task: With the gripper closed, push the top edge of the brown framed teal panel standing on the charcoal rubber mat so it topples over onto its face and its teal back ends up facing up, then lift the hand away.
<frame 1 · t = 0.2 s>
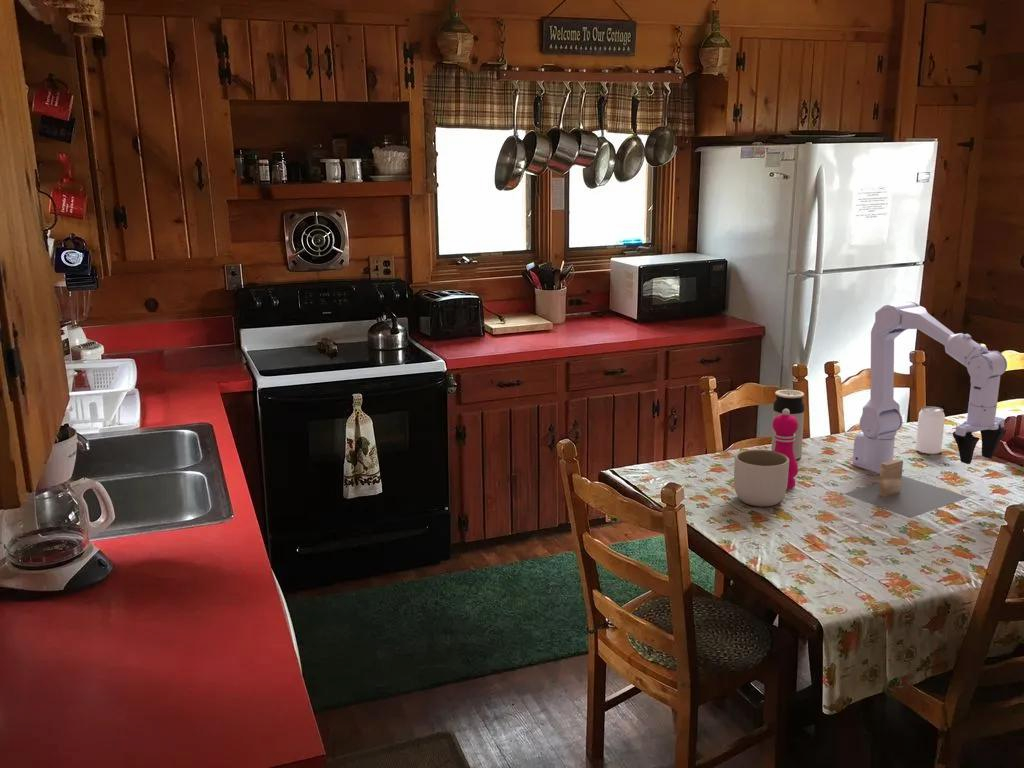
hand: (976, 460, 207), 10 cm above the table, tool pointing down, fingers open, 7 cm apart
pepper mill: (781, 486, 221), on the table
planter: (759, 501, 212), on the table
can: (928, 451, 244), on the table
travel mug: (786, 456, 243), on the table
rubber mat: (905, 497, 212), on the table
brown framed teal panel: (889, 493, 213), resting on rubber mat
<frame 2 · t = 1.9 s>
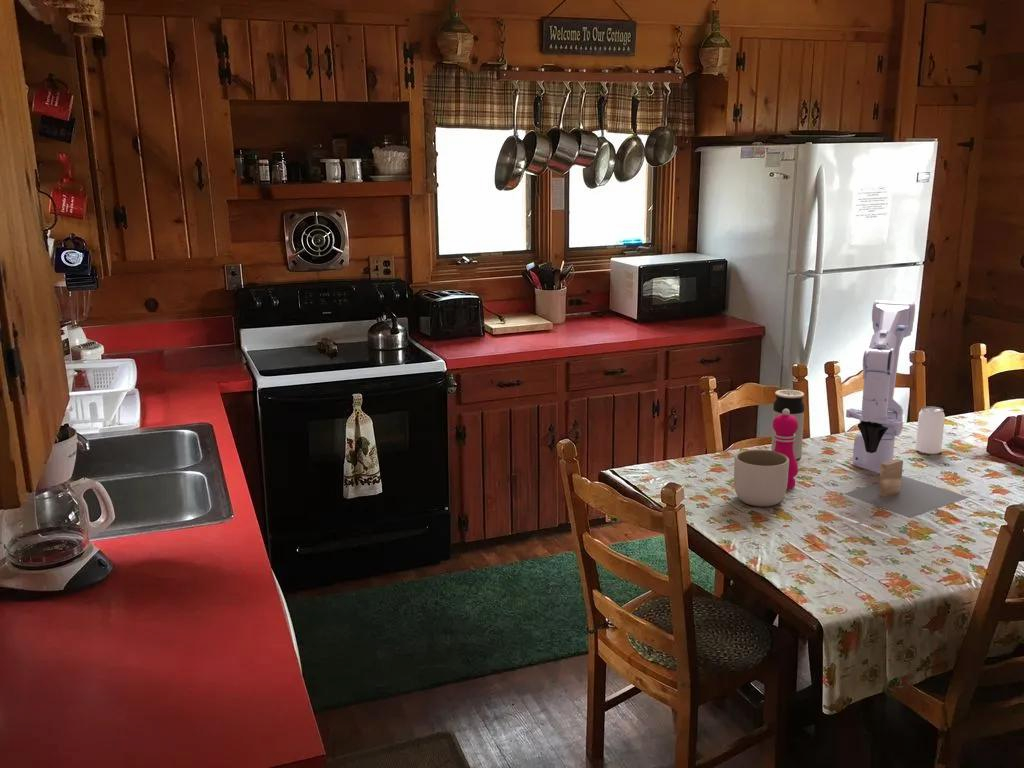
hand: (871, 451, 216), 9 cm above the table, tool pointing down, fingers closed
nothing on the table moved.
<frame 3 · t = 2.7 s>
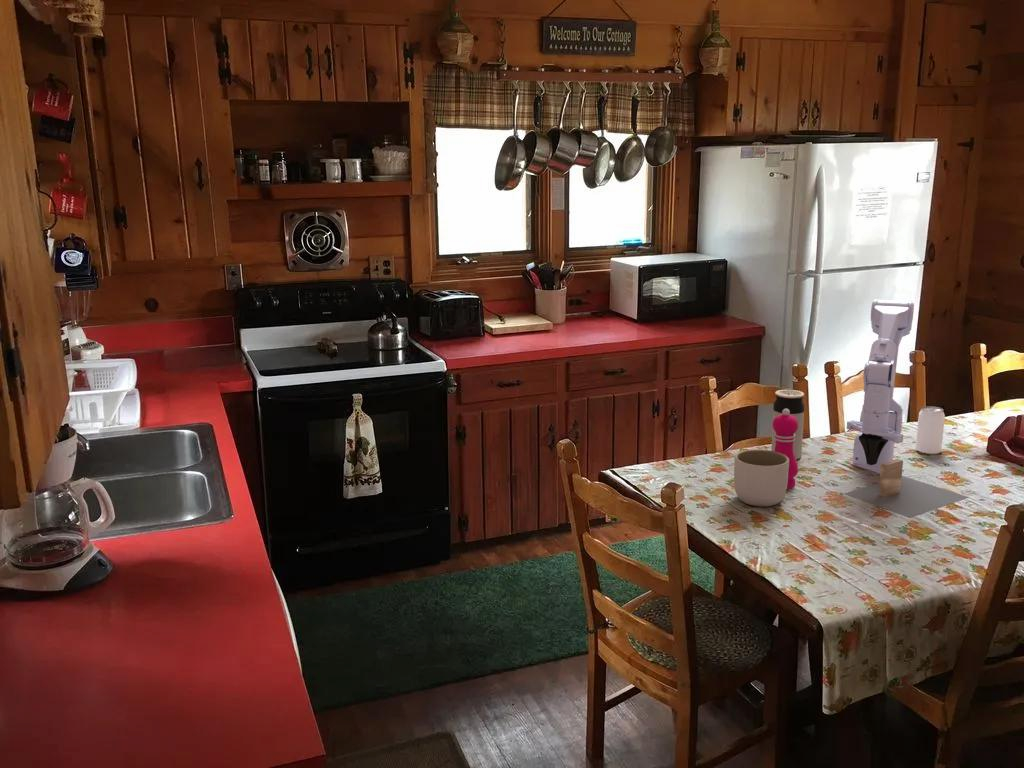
hand: (871, 463, 216), 6 cm above the table, tool pointing down, fingers closed
nothing on the table moved.
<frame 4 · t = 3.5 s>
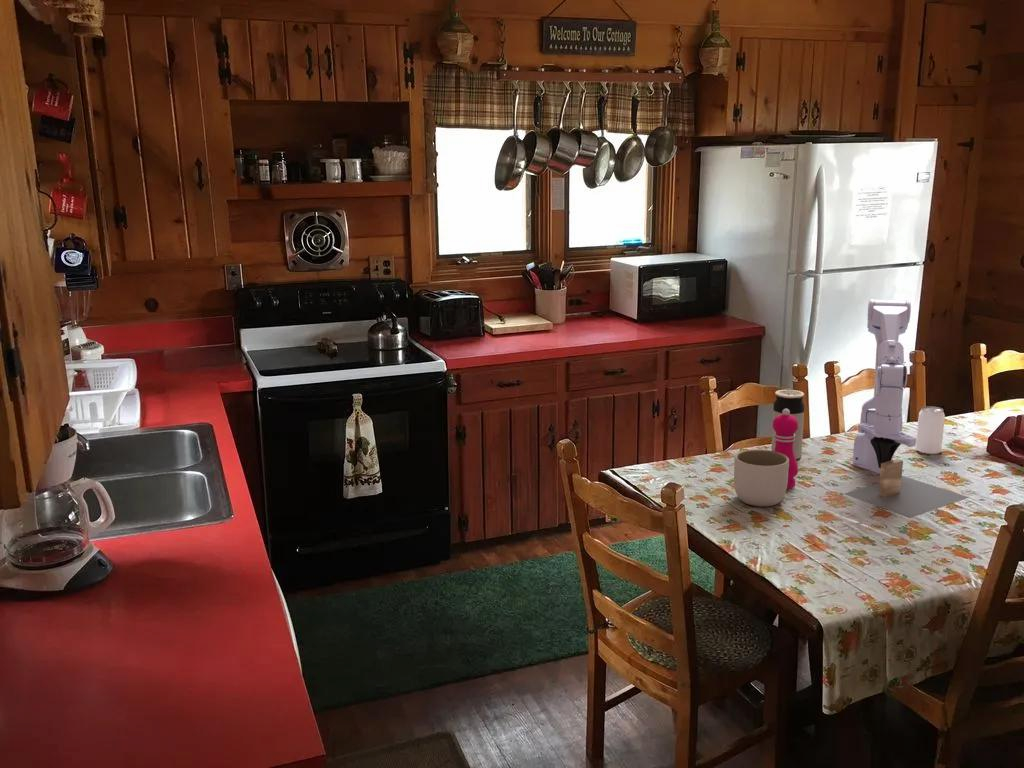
hand: (883, 467, 214), 6 cm above the table, tool pointing down, fingers closed
brown framed teal panel: (889, 493, 213), resting on rubber mat, touching gripper
everything else where it was.
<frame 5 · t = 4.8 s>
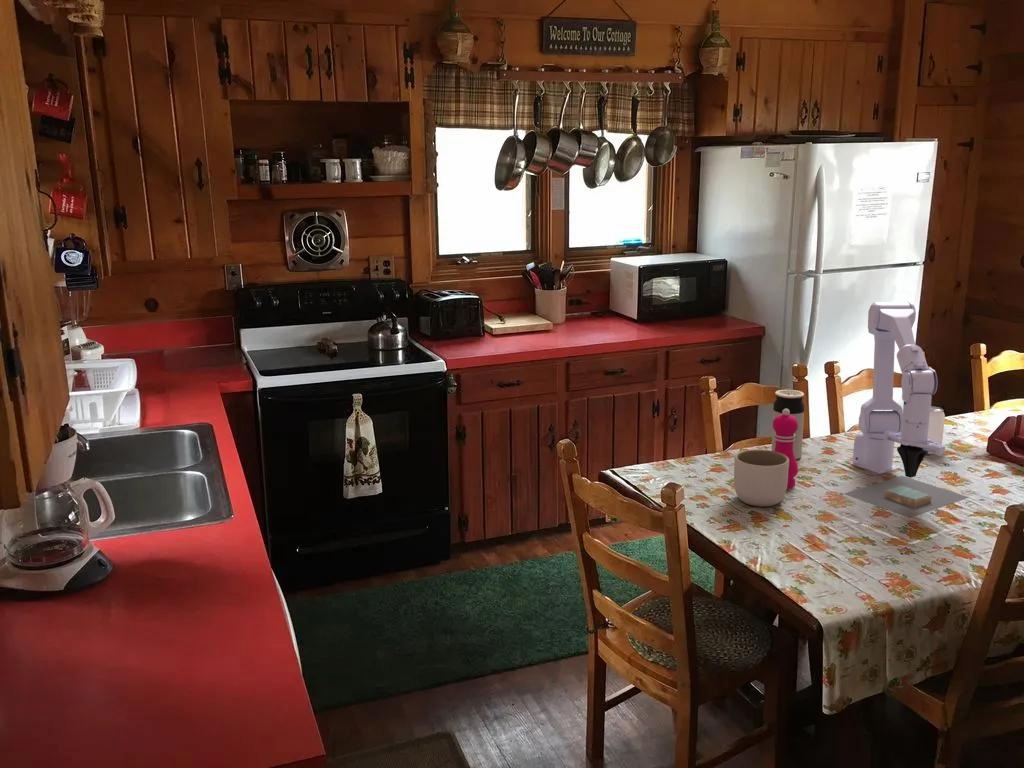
hand: (910, 476, 207), 6 cm above the table, tool pointing down, fingers closed
brown framed teal panel: (893, 491, 212), point 1 cm above the table, tilted 90°, touching rubber mat
everything else where it was.
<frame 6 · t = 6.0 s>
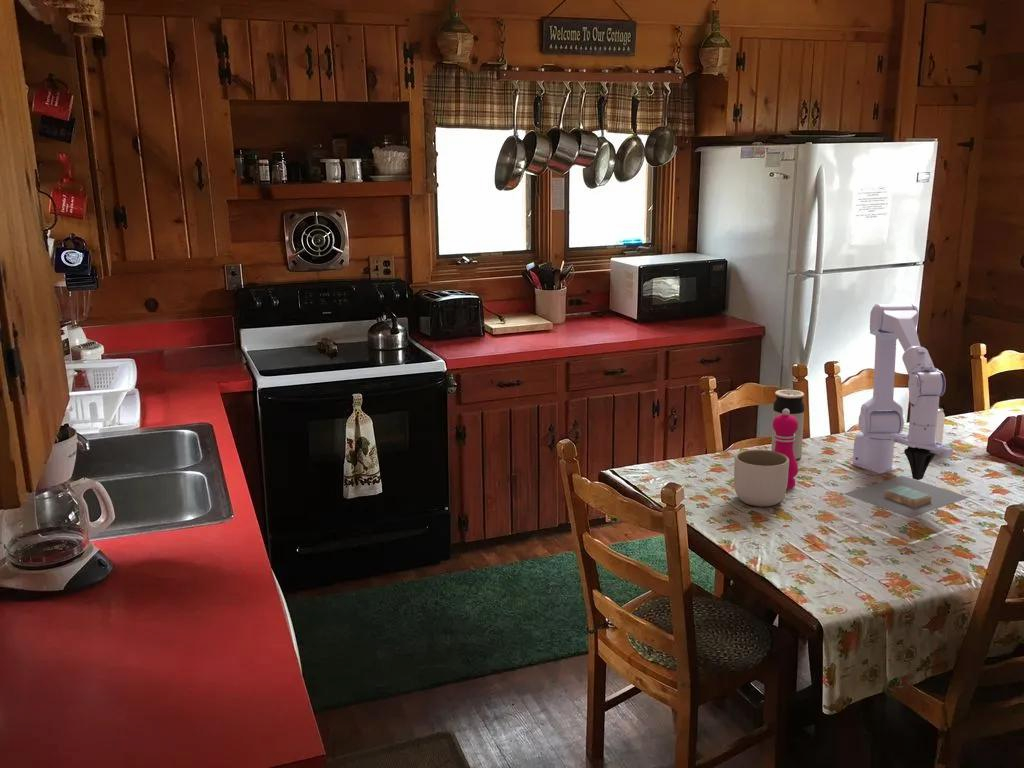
hand: (917, 478, 206), 6 cm above the table, tool pointing down, fingers closed
nothing on the table moved.
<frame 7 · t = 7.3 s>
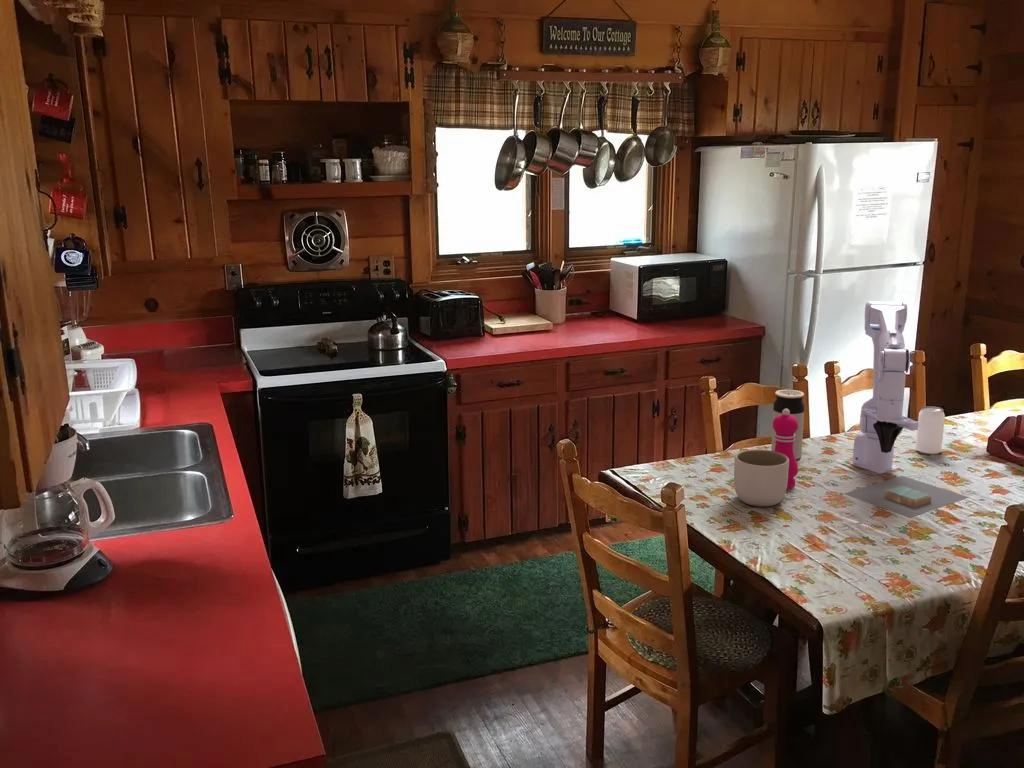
hand: (886, 451, 216), 9 cm above the table, tool pointing down, fingers closed
nothing on the table moved.
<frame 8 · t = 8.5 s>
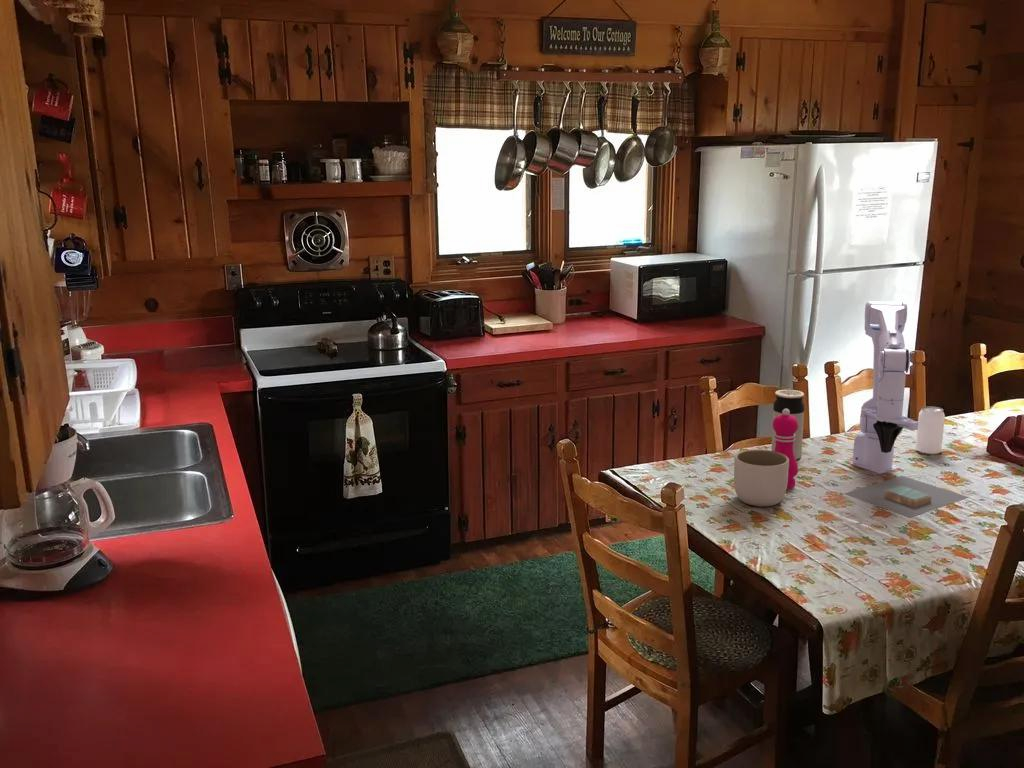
hand: (886, 451, 216), 9 cm above the table, tool pointing down, fingers closed
nothing on the table moved.
at the end: brown framed teal panel tilted 90°; brown framed teal panel inside the target area on the rubber mat (2.9 cm from its centre), point 1.3 cm above the rubber mat's base; brown framed teal panel touching rubber mat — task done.
